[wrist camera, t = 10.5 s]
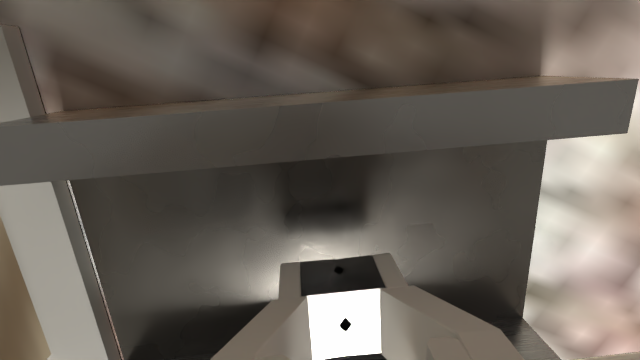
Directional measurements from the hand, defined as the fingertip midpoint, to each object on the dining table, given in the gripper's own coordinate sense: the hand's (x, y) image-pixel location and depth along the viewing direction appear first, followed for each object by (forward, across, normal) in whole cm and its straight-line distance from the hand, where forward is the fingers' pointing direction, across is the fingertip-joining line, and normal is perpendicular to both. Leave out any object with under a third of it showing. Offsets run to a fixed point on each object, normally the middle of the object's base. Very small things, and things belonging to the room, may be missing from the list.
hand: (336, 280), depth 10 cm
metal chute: (+2, 0, 0) cm, 2 cm away
